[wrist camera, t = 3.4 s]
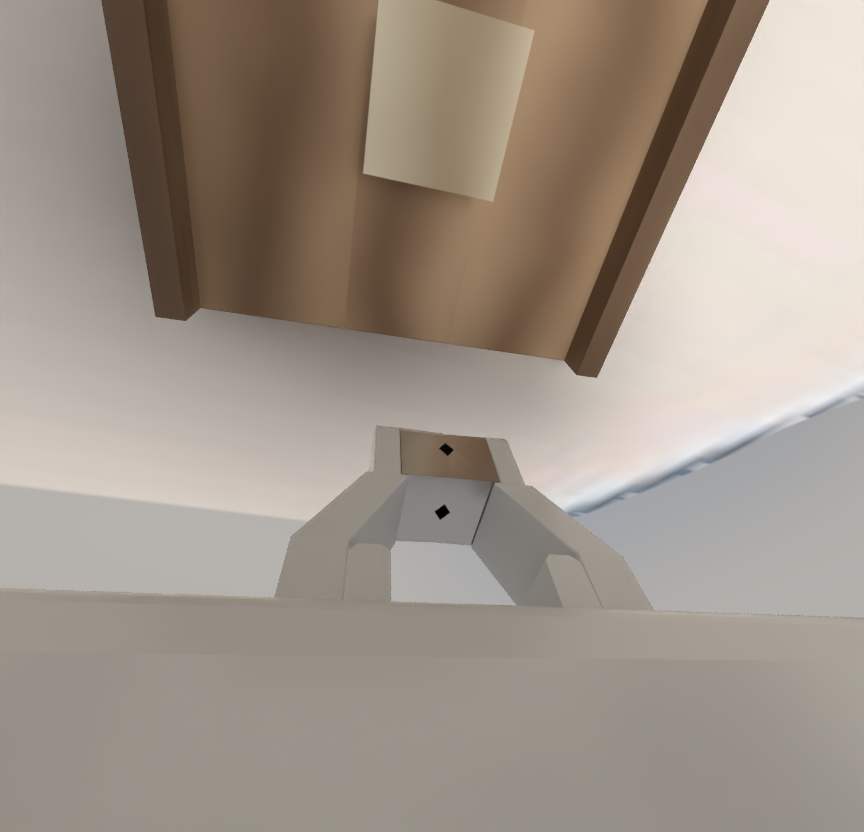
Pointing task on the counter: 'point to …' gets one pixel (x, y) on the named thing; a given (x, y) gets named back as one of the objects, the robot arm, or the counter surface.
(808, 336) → the counter surface
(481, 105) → the birch block
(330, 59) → the trap lane
